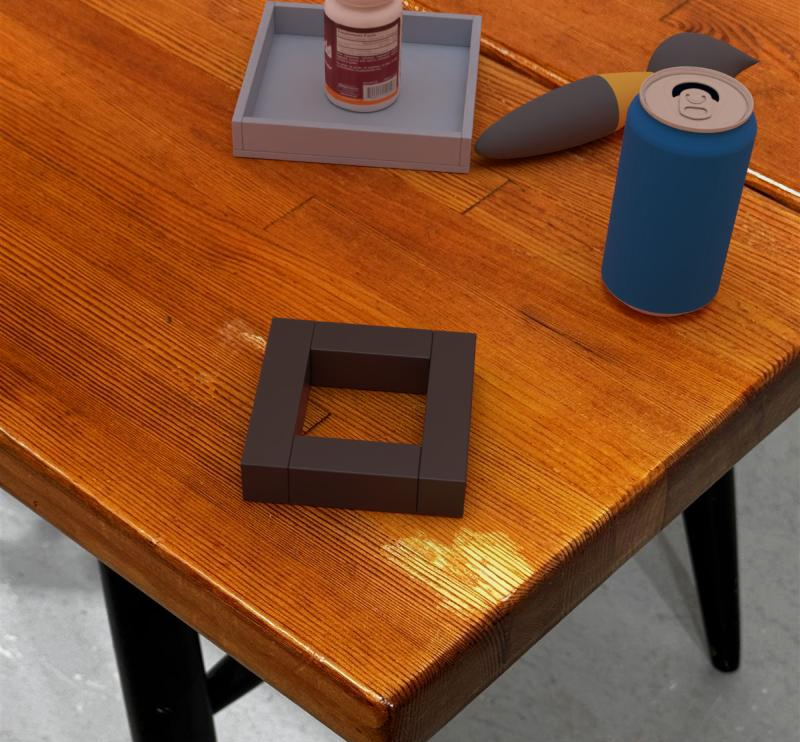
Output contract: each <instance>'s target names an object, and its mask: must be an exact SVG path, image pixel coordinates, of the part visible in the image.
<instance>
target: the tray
mask: <svg viewBox="0 0 800 742" xmlns="http://www.w3.org/2000/svg"><path fill="white" fill-rule="evenodd" d="M260 18H261V19H260V22H259V25H258V28H257V32H256V36H255V39H254V41H253V46H252V49H251V53H250V56H249V60H248V63H247V67H246V70H245V74H244V77H243V81H242V84H241V88H240V91H239V93H238V98H237V101H236V104H235V108H234V112H233V115H232V119H231V135H232V148H233V151H232V152H233V157H236V158H237V157H238V158H247V159H248V158H250V159H265V160H277V161H292V162H303V163H304V162H305V163H319V164H329V165H330V164H332V165H344V166H345V165H347V166H357V167H359V166H360V167H371V168H372V167H373V168H385V169H386V168H387V169H402V170H413V171H428V172H442V173H455V174H466V175H467V174H470V168H471V156H472V145H473V133H474V120H475V108H476V98H477V86H478V77H479V76H478V73H479V64H480V63H479V62H480V52H481V40H482V39H481V38H482V27H483V26H482V25H483V15H479V14H474V15H473V14H465V13H464V14H463V13H451V12H436V11H422V10H421V11H419V10H405V9H403V18H402V42H401V76H400V93H399V95H398V98H397V99H396V100H395V101H394V103H392V104H391V105H390V106H388V107H386V108H384V109H381V110H378V111H373V112H356V111H350V110H347V109H344V108H341V107H339V106H337V105H335V104H333V103H332V102H331V101H330V100H329V98H328V97H327V95H326V91H325V63H324V61H325V58H324V57H325V53H324V4H320V3H306V2H305V3H303V2H291V1H290V2H289V1H278V0H277V1H274V0H273V1H272V0H271V1H270V0H266V2H265V4H264V8H263V12H262V15H261V17H260Z"/></svg>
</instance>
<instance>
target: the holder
mask: <svg viewBox="0 0 800 742" xmlns="http://www.w3.org/2000/svg"><path fill="white" fill-rule="evenodd" d="M477 336H478V335H477V333H475V332H463V331H451V330H439V329H435V330H433V329H426V328H414V327H400V326H386V325H376V324H375V325H374V324H362V323H349V322H336V321H323V320H312V319H299V318H287V317H275V316H273V317H272V318H271V322H270V327H269V332H268V336H267V340H266V345H265V348H264V349H265V350H264V354H263V359H262V363H261V368H260V373H259V377H258V382H257V386H256V391H255V394H254V400H253V404H252V409H251V413H250V417H249V422H248V427H247V432H246V435H245V439H244V445H243V450H242V453H241V454H242V455H241V458H240V463H239V466H240V467H239V468H240V479H241V480H240V481H241V492H242V500H243V501H248V502H257V503H258V502H259V503H272V504H283V505H289V504H290V505H298V506H299V505H301V506H311V507H313V506H314V507H325V508H336V509H337V508H338V509H347V510H362V511H373V512H385V513H396V514H397V513H399V514H409V515H410V514H411V515H416V514H417V515H423V516H424V515H425V516H435V517H449V518H460V519H462V518H463V517H464V512H465V504H466V503H465V501H466V490H467V478H468V465H469V451H470V435H471V422H472V421H471V420H472V407H473V396H474V395H473V394H474V393H473V392H474V382H475V381H474V379H475V365H476V351H477V349H476V348H477ZM311 386H316V387H317V386H319V387H329V388H330V387H332V388H341V389H342V388H343V389H355V390H369V391H382V392H395V393H406V394H407V393H408V394H420V395H426V399H425V407H424V408H425V409H424V419H423V428H422V429H423V430H422V431H423V432H422V439H421V444H415V443H400V442H389V441H377V440H365V439H363V440H362V439H350V438H341V437H340V438H339V437H326V436H325V437H324V436H314V435H303V430H304V426H305V425H304V424H305V420H306V413H307V408H308V403H309V397H310V392H311V391H310V390H311Z"/></svg>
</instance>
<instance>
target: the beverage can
mask: <svg viewBox="0 0 800 742" xmlns="http://www.w3.org/2000/svg"><path fill="white" fill-rule="evenodd" d="M754 106H755V102H754V97H753V96H752V93H751V92H750V90H749V89H748V88H747V87H746V85H744V84H743V83H742V82H741V81H739V80H738V79H736V78H732V77H731V76H728V75H726V74H724V73H721V72H718V71H715V70H711V69H706V68H700V67H673V68H668V69H664V70H661V71H658V72H656V73H654V74H652V75H650V76H649V77H648V78H646V79H645V80H644V82H643V83H642V85H641V87H640V92H639V93H638V94H637V95H636V96H635V97H634V99H633V100H632V101H631V103H630V105H629V107H628V110H627V116H626V122H625V125H624V129H623V135H622V141H621V146H620V153H619V159H618V165H617V171H616V176H615V177H616V178H615V183H614V189H613V193H612V194H613V195H612V201H611V206H610V207H611V208H610V213H609V217H608V218H609V219H608V225H607V231H606V239H605V243H604V249H603V255H602V261H601V267H600V275H601V279H602V282H603V284H604V286H605V288H606V289H607V290H608V291H609V293H610V294H611V295H612V296H614V297H615V298H616V299H617V300H619V301H620V302H622V303H623V304H625V306H628V307H629V308H630V309H632V310H633V311H636V312H638V313H640V314H641V313H642V314H644V315H648V316H654V317H661V318H665V317H666V318H667V317H668V318H669V317H677V316H681V315H684V314H689V313H692V312H695V311H698V310H701V309H703V308H704V307H706V306H708V304H710V303H711V302H712V301H713V300H714V299H715V297H717V294H718V292H719V290H720V285H721V282H722V277H723V273H724V271H725V270H724V269H725V266H726V261H727V257H728V253H729V249H730V244H731V240H732V237H733V232H734V229H735V224H736V220H737V215H738V213H739V212H738V211H739V208H740V203H741V199H742V195H743V190H744V188H745V183H746V178H747V175H748V172H749V171H748V170H749V166H750V162H751V159H752V154H753V150H754V145H755V142H756V138H757V134H758V120H757V117H756V114H755V112H754Z"/></svg>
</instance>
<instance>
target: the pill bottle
mask: <svg viewBox="0 0 800 742" xmlns="http://www.w3.org/2000/svg"><path fill="white" fill-rule="evenodd" d="M323 5H324V53H325V57H324V58H325V61H324V63H325V91H326V95H327V97H328V98H329V100H330V101H331V102H332V103H333V104H335V105H337V106H339V107H341V108H344V109H347V110H350V111H356V112H373V111H378V110H381V109H384V108H386V107H388V106H390V105H391V104H392V103H394V101H395V100H396V99H397V98H398V95H399V93H400V76H401V42H402V18H403V10H404V9H403V7H404V6H403V1H402V0H324V3H323Z"/></svg>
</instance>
